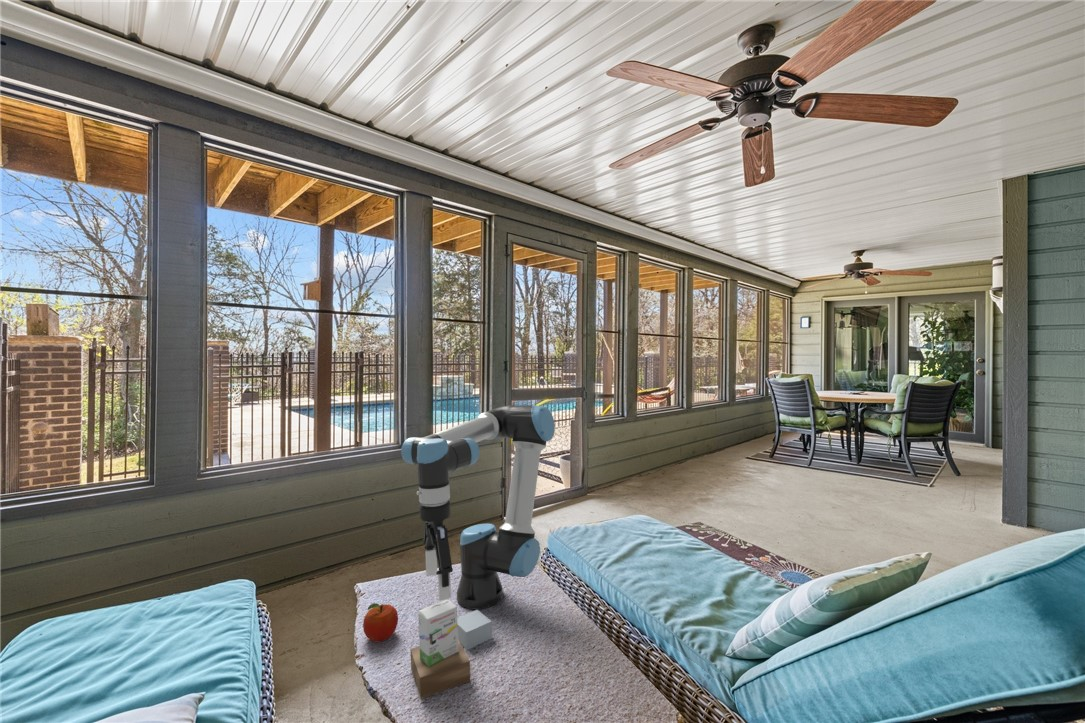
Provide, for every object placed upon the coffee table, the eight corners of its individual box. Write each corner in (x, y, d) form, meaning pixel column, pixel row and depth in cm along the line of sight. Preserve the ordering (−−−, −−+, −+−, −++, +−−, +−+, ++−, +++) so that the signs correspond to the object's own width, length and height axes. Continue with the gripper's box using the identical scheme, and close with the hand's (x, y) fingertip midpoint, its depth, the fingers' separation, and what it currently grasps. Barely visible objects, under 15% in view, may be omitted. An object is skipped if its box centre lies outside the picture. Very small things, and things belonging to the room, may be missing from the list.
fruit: (402, 639, 129) (401, 604, 129) (366, 651, 124) (365, 615, 124) (394, 623, 138) (393, 590, 138) (360, 634, 133) (359, 600, 133)
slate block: (453, 637, 130) (452, 619, 130) (477, 626, 135) (477, 609, 135) (467, 650, 124) (466, 632, 124) (492, 638, 129) (491, 621, 129)
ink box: (428, 667, 110) (426, 618, 110) (418, 658, 113) (417, 610, 113) (459, 651, 115) (457, 605, 115) (449, 643, 119) (448, 598, 119)
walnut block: (411, 668, 117) (410, 649, 117) (456, 653, 123) (456, 635, 122) (420, 699, 106) (420, 677, 106) (470, 681, 112) (469, 661, 112)
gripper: (409, 491, 124) (413, 569, 124) (430, 520, 101) (434, 614, 102) (437, 487, 127) (440, 562, 127) (463, 513, 105) (467, 605, 105)
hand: (438, 586), depth 115 cm, fingers open, 13 cm apart
